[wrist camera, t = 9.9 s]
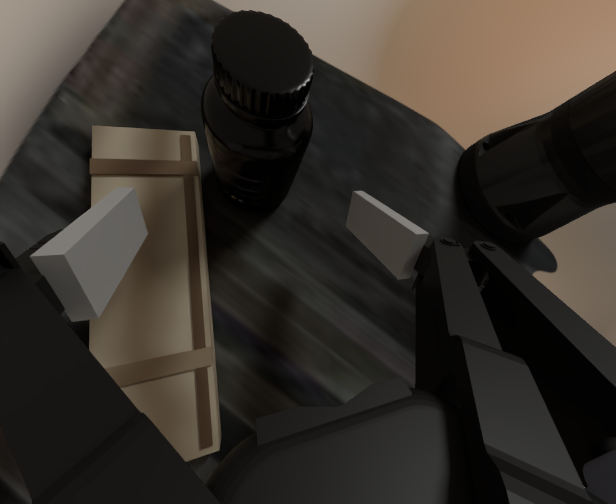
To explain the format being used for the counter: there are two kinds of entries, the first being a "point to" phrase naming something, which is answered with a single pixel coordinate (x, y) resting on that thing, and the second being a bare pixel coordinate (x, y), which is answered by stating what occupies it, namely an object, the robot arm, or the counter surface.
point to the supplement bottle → (257, 108)
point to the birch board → (160, 288)
